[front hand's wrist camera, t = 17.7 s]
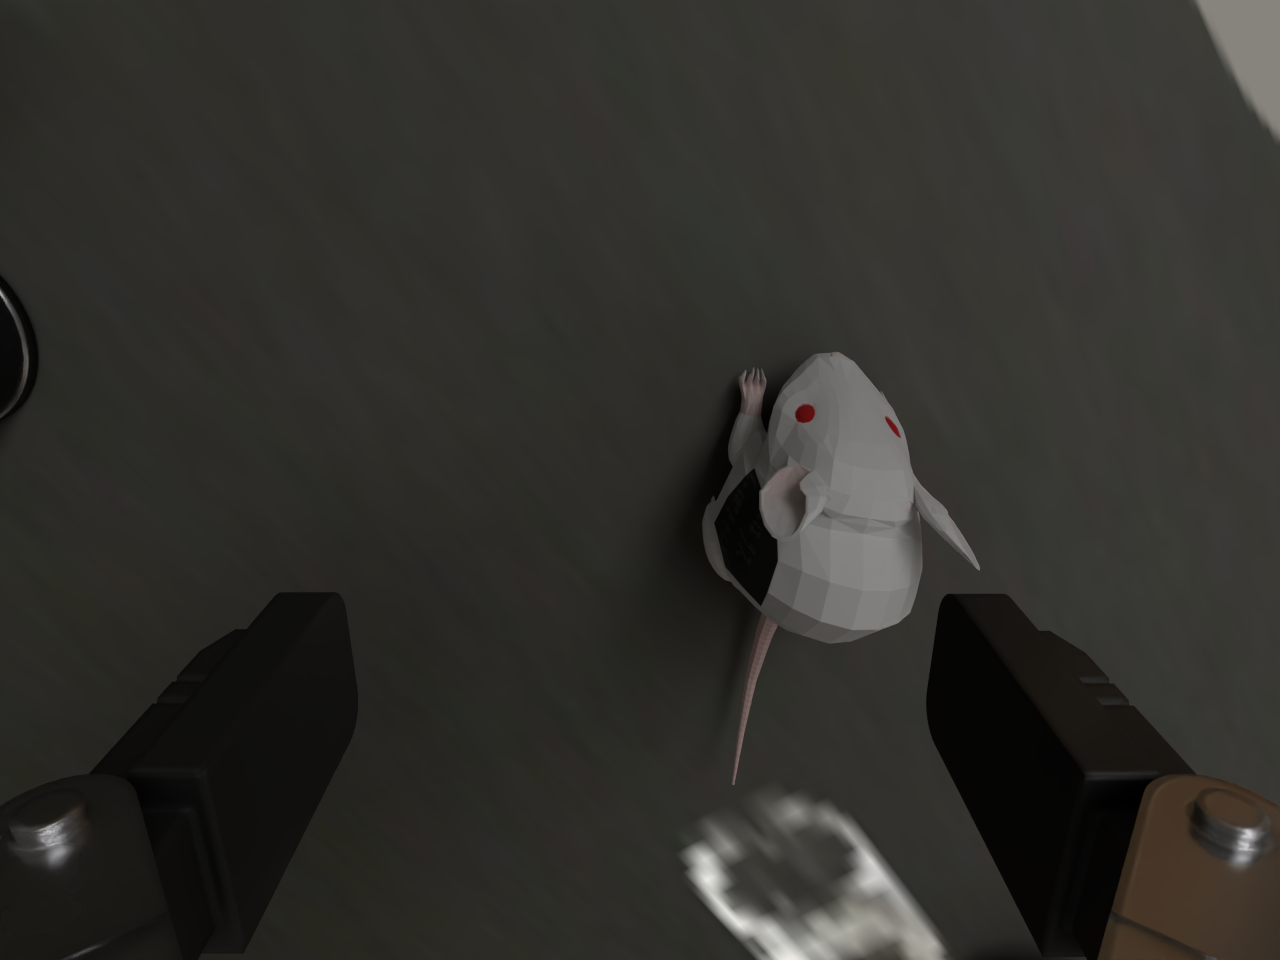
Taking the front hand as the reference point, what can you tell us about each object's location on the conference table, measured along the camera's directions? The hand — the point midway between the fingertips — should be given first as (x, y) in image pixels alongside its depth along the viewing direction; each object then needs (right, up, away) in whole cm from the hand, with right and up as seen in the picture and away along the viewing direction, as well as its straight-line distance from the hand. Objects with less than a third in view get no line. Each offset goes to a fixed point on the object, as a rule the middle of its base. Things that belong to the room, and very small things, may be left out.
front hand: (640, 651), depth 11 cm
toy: (+7, -2, +33) cm, 34 cm away
